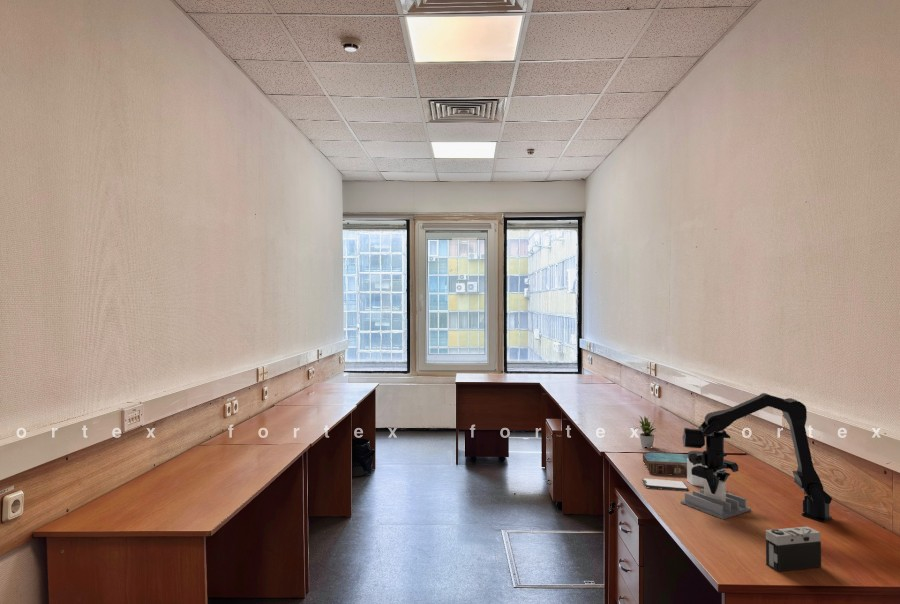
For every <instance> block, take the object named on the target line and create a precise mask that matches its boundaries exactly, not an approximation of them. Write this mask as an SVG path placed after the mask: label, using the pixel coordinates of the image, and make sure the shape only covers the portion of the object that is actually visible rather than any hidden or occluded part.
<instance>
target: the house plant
mask: <svg viewBox="0 0 900 604" xmlns="http://www.w3.org/2000/svg"><path fill="white" fill-rule="evenodd" d="M639 417H640V420H641V421H640V420H639V419H637V418H634V417H631V418H634V420H636V421H638V423H639V424H640V425H639V427H637V426H635V425H634V427H635V428H634V430H637V429H638V430H642V431H641V433H639V438H640V439H639V440H640V445H641V447H642V446H643V447H647V448H646V449H652V448H651V447H654V440H655V434H653V433H654V432H659V430H657V428H656V426H655V425H654V424H657V422H658V421H656V420H654V421H653V422H652V424H651V421H649V416H648V417H646V415H644V417H642V416H641V415H639ZM643 418H644V419H643ZM643 447H642V448H643Z"/></svg>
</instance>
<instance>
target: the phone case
mask: <svg viewBox="0 0 900 604" xmlns="http://www.w3.org/2000/svg"><path fill="white" fill-rule="evenodd" d="M642 481H643V483H644V484H643V483H642V484H643V486H644V485H645V486H646V487H650V488H662V489H661V490H664V489H676V490H675V491H678V490H688V491H689V487H688V486H687V485H686V484H685V482H684V481H681V480H668V479H656V478H647V477H646V478H642V479H641V482H642ZM645 486H644V487H645Z"/></svg>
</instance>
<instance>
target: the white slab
mask: <svg viewBox="0 0 900 604" xmlns="http://www.w3.org/2000/svg"><path fill="white" fill-rule="evenodd" d="M703 489H704V494H705V495H708V496H711V497H714V498H716V499H719V500H722V501H725V502H726V492H727V482H726V481H725V482H724V481H721V480H719V483H718V486H717V490H716V492H715V494H712V493H711V490H710V488H709V485H708V482H707V480H706V479H704V487H703Z"/></svg>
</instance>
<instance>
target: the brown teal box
mask: <svg viewBox="0 0 900 604" xmlns="http://www.w3.org/2000/svg"><path fill="white" fill-rule="evenodd" d="M641 454H642V463H643V462H644V463H645V464H644V463H643V464H644V466H645V465H646V466H647V467H646V466H645V467H646V469H647V468H648V469H647V470H648V474H649V473H656V474H655V475H660V474H672V475H671V476H677V475H685V476H684V477H687V458H688V453H686V454H684V453H667V452H647V451H641Z"/></svg>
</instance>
